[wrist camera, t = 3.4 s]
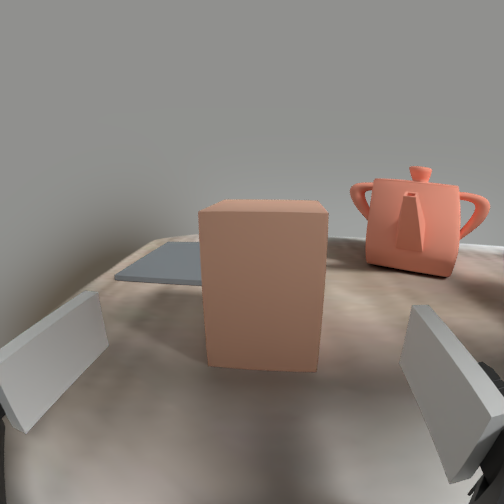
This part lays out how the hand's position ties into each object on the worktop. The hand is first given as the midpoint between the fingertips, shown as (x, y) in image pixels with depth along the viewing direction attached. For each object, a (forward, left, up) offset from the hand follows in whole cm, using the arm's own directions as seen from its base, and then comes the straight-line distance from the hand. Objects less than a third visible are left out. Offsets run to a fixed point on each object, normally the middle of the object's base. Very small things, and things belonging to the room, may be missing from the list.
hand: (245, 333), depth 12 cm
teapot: (-19, -30, -6) cm, 36 cm away
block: (0, -9, -6) cm, 11 cm away
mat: (+10, -29, -6) cm, 32 cm away
